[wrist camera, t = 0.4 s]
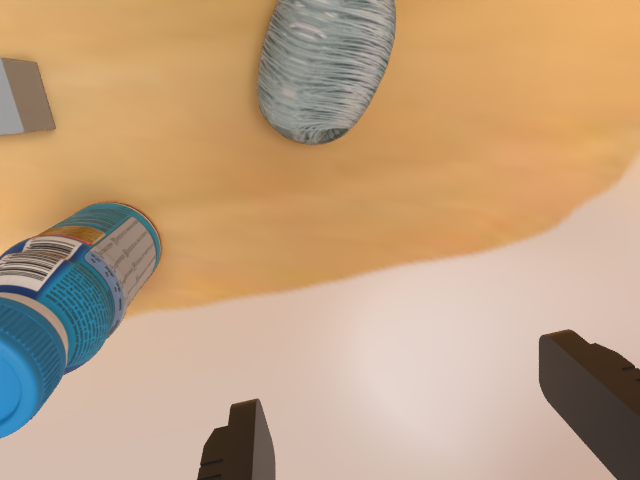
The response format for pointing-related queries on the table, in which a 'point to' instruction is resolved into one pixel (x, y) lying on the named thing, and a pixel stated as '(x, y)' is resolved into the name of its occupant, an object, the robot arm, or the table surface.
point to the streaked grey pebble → (323, 65)
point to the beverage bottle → (66, 300)
